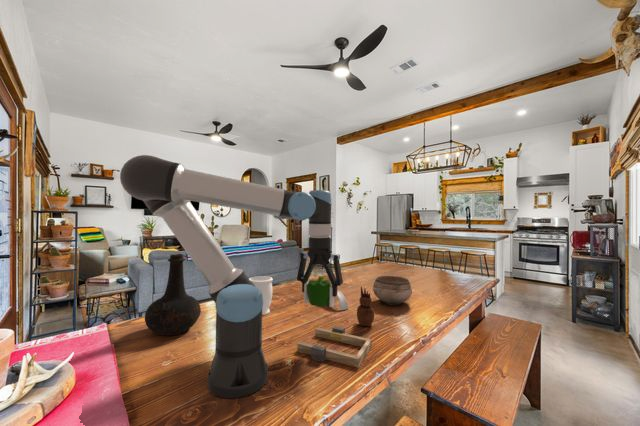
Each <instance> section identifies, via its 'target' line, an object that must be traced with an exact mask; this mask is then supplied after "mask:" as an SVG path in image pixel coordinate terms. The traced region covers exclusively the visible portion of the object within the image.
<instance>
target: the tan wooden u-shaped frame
mask: <svg viewBox="0 0 640 426" xmlns="http://www.w3.org/2000/svg"><path fill="white" fill-rule="evenodd" d="M314 331H315V332H314V333H315V334H314V337H318V338H322V339H327V340H331V341H333V342H340V343H342V344H348V345H353V346H355V347H360V350H359V351H358V353H357V354H356V355H355V354H351V353H347V352H343V351H339V350H335V349H330V348H327V347H325V346H322V345H318V344H312V343H308V342H303V341H299V342H297V347H296V348H297V350H296V351H297V353H298V352H299V353H303V354H305V355H308V356H309V355H310V357H311V358H310V359H311V360H314V361H318V362H321V363H324V362H325V361H326V360H328V361H332V362H334V363H335V362H336V363H338V364H344V365H347V366H349V367H354V368H357V369H359V368H360V366H361V365H362V363H363V361H364V360H365V359H366V356H367V355H368V353H369V352H370V351H371V348H372V344H373V343H372V341H373V340H372V339H371V338H366V337H362V336H357V335H354V334H353V335H352V334H349V333H346V328H345V327H341V326H337V325H334V326H333V327H332V329H331V330H330V329H326V328H321V327H316V328H315V330H314Z"/></svg>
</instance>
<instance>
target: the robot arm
mask: <svg viewBox="0 0 640 426" xmlns="http://www.w3.org/2000/svg"><path fill="white" fill-rule="evenodd" d="M119 179H120V180H119V181H120V183H121V186H122V187H123V190H124V191H125V192H126V193H127V194H129V195H130V196H131V197H133V198H135V199H136V200H140V201H143V204H145V206H146V207H147V208H148V210H149V211H150V212H151V214H152V216H153V217H154V216H155V217H158V218H162V219H163V221H164V222H165V224H166V225H167V227H168V228H169V230H171V233H172V234H173V235H174V236H175V238H176V240H177V241H178V242H179V243H180V245H181V246H182V248H183V249H184V250H185V252H186V254H187V255H188V257H189V258H190V259H191V260H192V262H193V263H194V265H195V266H196V267H197V269H198V271H199V272H200V274H201V275H202V276H203V278H204V279H205V281H206V282H207V284H208V286H209V287H208V292H207V293H208V295H209V296H210V297H211V299H212V301H213V302H214V303H215V310H216V312H215V317H216V318H215V350H214V351H215V353H214V356H213V359H212V362H211V366H210V369H209V370H208V372H207V373H208V374H207V378H206V379H207V380H206V382H207V383H206V387H207V390H208V389H209V390H208V391H209V392H210V393H211V394H212V395H213V394H214V396H215V395H216V396H215V397H218V396H219V398H222V397H223V399H237V398H243V397H247V396H249V395H251V394H253V393H256V392H258V391H259V390H260V389H262V388H263V387H264V386H265V385H266V383H267V381H268V378H269V367H268V364H267V361H266V359H265V358H266V357H265V355H264V351H263V347H262V346H263V344H262V343H263V341H262V340H263V315H262V307H263V297H262V292H261V290H260V289H259V288H257V287H256V286H255V285H254V284H253V283H252V282H251V281H250V280H249V277H248V276H247V275H246V273H245V272H244V270H243V269H242V268H237V267H235V266H234V265H233V263H232V261H231V260H230V259H229V257H228V255H227V254H226V253H225V251H224V250H223V248H222V246H221V245H220V244H219V242H218V241H217V239H216V238H215V237H214V235H213V233H212V232H211V231H210V229H209V228H208V226H207V225H206V223H205V221H204V220H203V219H202V217H201V216H200V214H199V213H198V211H197V209H196V208H195V207H194V206H193V204H192V202H197V203H203V204H209V205H215V206H219V207H225V208H230V209H231V208H232V209H237V210H243V211H247V212H253V213H257V214H258V213H259V214H264V215H265V214H266V215H270V216H273V218H274V219H275V220H276V219H277V220H285V219H286V220H296V221H306V220H307V219H308V236H309V238H308V251H303V252H300V254H299V255H300V256H299V257H300V262H299V266H298V271H297V276H296V277H297V278H296V281H298V282H301V291H302V293H303V295H304V296H303V297H304V298H303V303H304V304H307V303H310V302H309V299H308V295H307V285H308V283H309V279H310V277H311V275H312V273H313V270H314V268H315V266H317V265H320V266H323V268H324V269H325V272H326V274H327V277H328V280H329V282H330V284H331V287H330V301H329V308H333V307H334V306H335V301H336V299H335V298H336V297H337V291H338V286H339V287H340V286H341V285H343V284H344V281H343V275H342V269H341V264H340V259H341V254H339V253H337V254H336V253H332V238H331V237H330V236H331V235H332V204H333V203H332V194H331V192H330V191H329V190H324V189H321V190H320V189H319V190H318V189H316V190H315V189H314V190H310V191H309V192H305V191H298V192H297V191H293V190H287V189H284V188H279V187H278V188H277V187H275V186H274V187H273V186H268V185H264V184H259V183H253V182H251V181H244V180H240V179H235V178H230V177H225V176H221V175H215V174H212V173H205V172H201V171H197V170H191V169H187V168H186V167H185V166H184V165H183V163H178V162H174V161H169V160H167V159H163V158H160V157H158V156H153V155H148V154H142V155H137V156H133V157H132V158H130V159H128V160H127V161H126V162H125V163H124V164H123V166H122V168H121V169H120V172H119ZM191 201H192V202H191ZM308 258H309V259H310V260H309V262H308V266H307V261H308ZM330 259H331V260H332V261H333V268H334V270H333V268H332V266H331V264H332V263H330ZM306 266H307V268H306Z"/></svg>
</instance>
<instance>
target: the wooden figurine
mask: <svg viewBox="0 0 640 426" xmlns="http://www.w3.org/2000/svg"><path fill="white" fill-rule="evenodd" d="M363 290H364V291H363ZM366 290H367V289H366V288H364V289H363V287H362V286H360V296H359V297H360V298H359V305H358V307H357V309H356V318H357V322H358V323H359V325H360V326H363V327H370V326H371V325H372V324H373V322H374V320H375V311H374V308H373V307H372V305H373V300H372V297H371V293H370V292H369V291H368V290H367V291H366Z"/></svg>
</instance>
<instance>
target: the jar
mask: <svg viewBox="0 0 640 426" xmlns="http://www.w3.org/2000/svg"><path fill="white" fill-rule="evenodd" d="M248 279H249V280H250V281H251V282H252V283H253V284H254V285H255V286H256V287H257V288H259V289H260V290H261V292H262V297H263V307H262V316H264V315H268V314H270V312H271V311H270V306H271V305H272V297H273V292H274V291H273V283H272V282H273V280H274V279H273V277H271V276H269V275H267V276H266V275H260V276H259V275H258V276H253V277H248Z"/></svg>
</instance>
